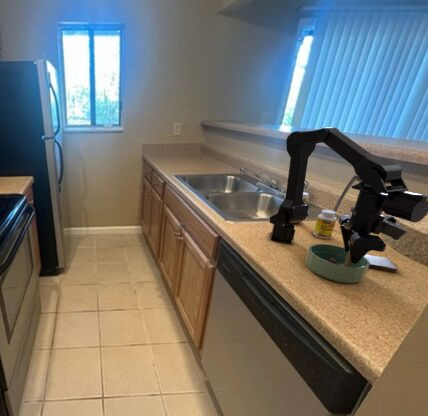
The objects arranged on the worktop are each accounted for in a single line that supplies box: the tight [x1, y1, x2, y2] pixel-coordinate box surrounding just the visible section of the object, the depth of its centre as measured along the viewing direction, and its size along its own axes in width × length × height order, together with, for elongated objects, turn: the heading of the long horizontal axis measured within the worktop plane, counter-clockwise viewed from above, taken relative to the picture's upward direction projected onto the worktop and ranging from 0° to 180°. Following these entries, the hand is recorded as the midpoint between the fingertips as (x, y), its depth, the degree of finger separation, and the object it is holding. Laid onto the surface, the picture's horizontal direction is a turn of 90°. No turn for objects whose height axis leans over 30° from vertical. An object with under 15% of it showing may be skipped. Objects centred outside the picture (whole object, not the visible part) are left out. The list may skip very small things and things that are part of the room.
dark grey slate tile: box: [364, 253, 398, 273], centre depth 88 cm, size 9×7×1 cm
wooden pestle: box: [339, 250, 352, 267], centre depth 81 cm, size 4×4×11 cm
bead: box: [328, 258, 336, 264], centre depth 86 cm, size 2×2×2 cm
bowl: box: [304, 243, 370, 284], centre depth 83 cm, size 14×14×6 cm
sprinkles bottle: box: [299, 191, 310, 225], centre depth 115 cm, size 5×5×13 cm
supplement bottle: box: [312, 209, 337, 240], centre depth 104 cm, size 6×6×10 cm
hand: (350, 257), depth 81 cm, fingers open, 7 cm apart
